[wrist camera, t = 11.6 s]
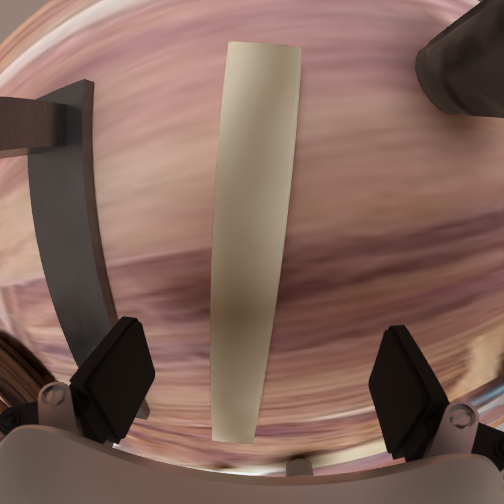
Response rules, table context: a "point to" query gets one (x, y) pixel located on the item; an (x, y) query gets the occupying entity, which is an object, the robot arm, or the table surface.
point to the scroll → (18, 379)
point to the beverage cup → (467, 63)
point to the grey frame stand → (65, 209)
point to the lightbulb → (299, 468)
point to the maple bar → (249, 226)
